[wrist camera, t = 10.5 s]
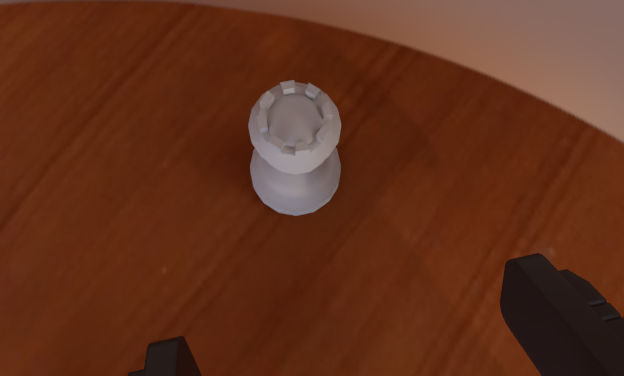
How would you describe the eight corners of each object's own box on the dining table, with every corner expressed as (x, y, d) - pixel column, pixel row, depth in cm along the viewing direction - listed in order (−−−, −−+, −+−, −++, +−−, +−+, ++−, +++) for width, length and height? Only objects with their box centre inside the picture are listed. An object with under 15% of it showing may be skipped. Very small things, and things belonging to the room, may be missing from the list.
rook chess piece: (294, 114, 23) (293, 29, 16) (358, 172, 23) (389, 114, 15) (232, 174, 23) (198, 115, 15) (296, 236, 22) (296, 209, 14)
